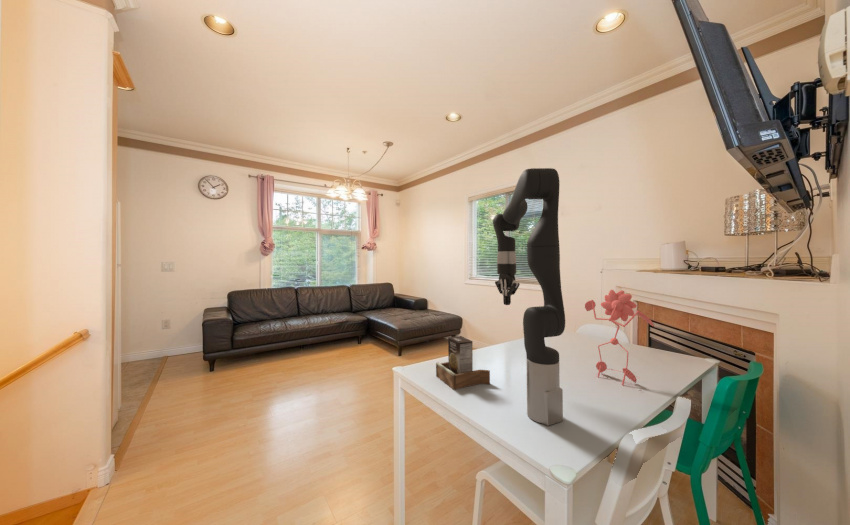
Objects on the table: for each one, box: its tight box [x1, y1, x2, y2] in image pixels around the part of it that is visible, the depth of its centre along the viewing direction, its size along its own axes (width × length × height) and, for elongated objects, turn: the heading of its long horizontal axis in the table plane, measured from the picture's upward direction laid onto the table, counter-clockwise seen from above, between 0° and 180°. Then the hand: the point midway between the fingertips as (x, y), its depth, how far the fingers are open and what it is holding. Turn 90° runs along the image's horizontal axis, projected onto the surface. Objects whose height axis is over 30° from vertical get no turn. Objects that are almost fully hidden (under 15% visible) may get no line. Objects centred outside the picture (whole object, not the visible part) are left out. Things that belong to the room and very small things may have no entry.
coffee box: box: [447, 335, 474, 374], centre depth 118 cm, size 9×6×16 cm
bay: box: [435, 361, 491, 390], centre depth 118 cm, size 18×15×6 cm
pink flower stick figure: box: [584, 289, 655, 392], centre depth 117 cm, size 15×26×35 cm, turn 30°
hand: (507, 304), depth 121 cm, fingers closed
